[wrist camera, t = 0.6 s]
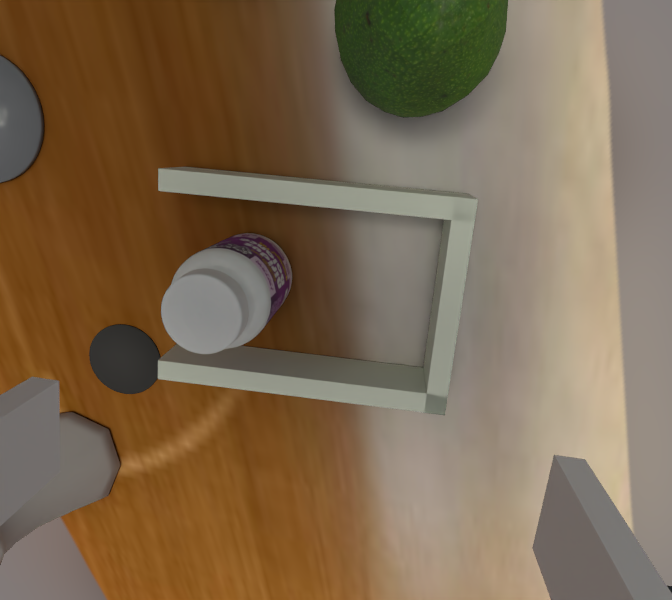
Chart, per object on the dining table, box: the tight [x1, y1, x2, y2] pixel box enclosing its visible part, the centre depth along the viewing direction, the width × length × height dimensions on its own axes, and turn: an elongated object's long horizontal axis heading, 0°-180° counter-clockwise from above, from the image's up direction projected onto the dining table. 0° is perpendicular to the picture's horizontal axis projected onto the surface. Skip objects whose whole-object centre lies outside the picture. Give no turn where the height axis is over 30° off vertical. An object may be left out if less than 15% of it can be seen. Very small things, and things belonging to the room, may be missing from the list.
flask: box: [0, 412, 120, 565], centre depth 35 cm, size 7×7×10 cm
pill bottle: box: [161, 233, 292, 354], centre depth 31 cm, size 5×5×10 cm
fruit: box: [335, 0, 508, 117], centre depth 25 cm, size 8×8×12 cm
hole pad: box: [89, 324, 160, 394], centre depth 38 cm, size 5×5×1 cm
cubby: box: [158, 167, 478, 415], centre depth 33 cm, size 12×17×4 cm
